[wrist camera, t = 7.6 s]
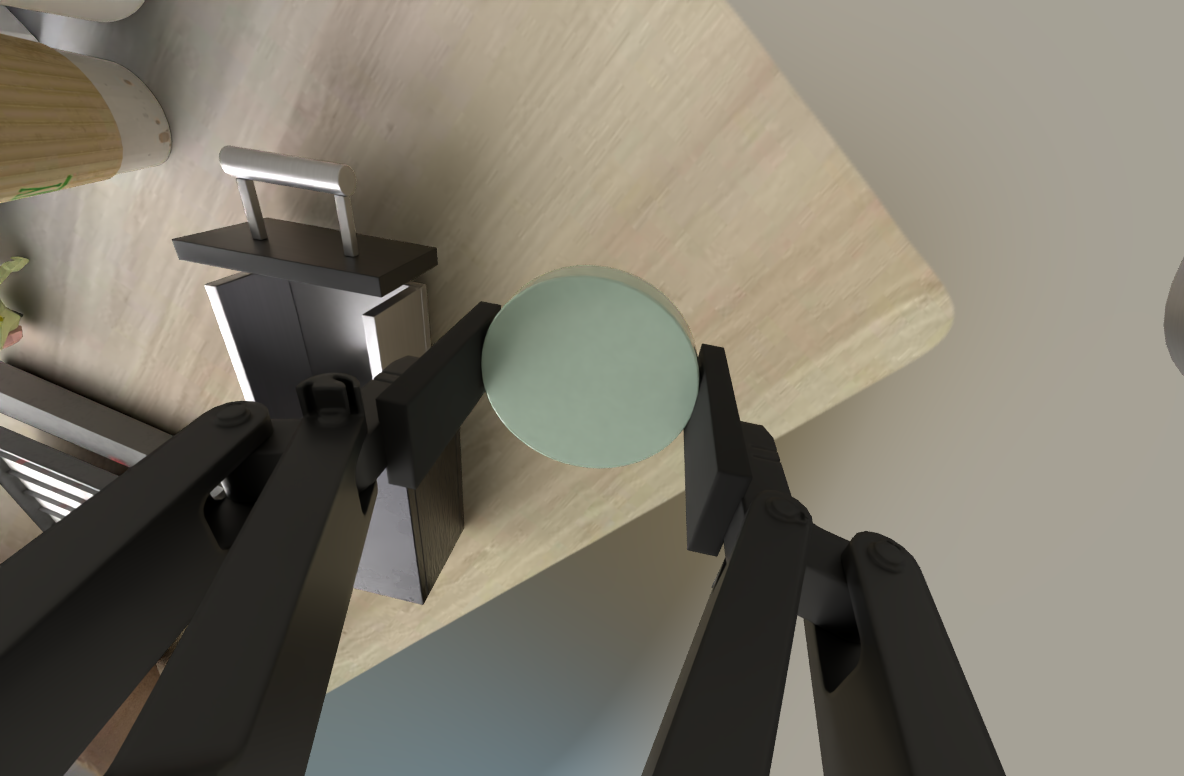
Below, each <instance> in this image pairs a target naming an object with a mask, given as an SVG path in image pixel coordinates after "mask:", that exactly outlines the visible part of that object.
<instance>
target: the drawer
mask: <svg viewBox="0 0 1184 776" xmlns="http://www.w3.org/2000/svg"><path fill="white" fill-rule="evenodd" d="M219 161H220V164H221V166H222V168H223V170H224V171H225V172H226V173H227V174H229V175H230V176H232V177H237V178H236V181H237V185H238V188H239V192H240V196H241V199H242V203H243V206H244V210H245V213H246V217H247V221H248V222H245V223H241V224H237V225H232V226H228V227H223V228H219V229H215V230H210V231H206V232H201V233H197V234H193V235H188V236H184V237H179V238H175V239H172V242H173V244H174V247H175V250H176V252H177V255H178V258H179V260H184V261H189V262H195V263H200V264H205V265H210V266H216V267H221V268H226V269H232V270H237V271H242V272H240V273H237V274H234V275H231V276H228V277H225V278H222V279H219V280H216V281H213V282H210V283H207V284H205V288H206V290H207V293H208V296H209V299H210V302H211V304H212V307H213V310H214V313H215V316H216V318H217V321H218V324H219V327H220V330H221V332H222V335H223V338H224V341H225V344H226V346H227V349H228V352H229V355H230V358H231V360H232V363H233V366H234V369H235V372H236V374H237V377H238V380H239V383H240V386H241V388H242V391H243V394H244V397H245V400H246V401H255V402H258V403H262V404H263V405H265V406H266V407H267V408H268V411H269V415H270V418H271V419H300V418H303V414H302V410H301V407H300V403H299V399H298V396H297V392H296V388H295V387H296V386H297V385H298V384H299V383H300V382H301V381H303V380H305V379H307V378H309V377H311V376H315V375H319V374H323V373H335V372H336V373H345V374H349V375H352V376H354V377H356V379H357V380H358V381H359V382H360V388H362V387H363V386H365V385H366V384H367V383H368V382H369V381H370V380H373V379H374V377H375V376H376V375H378V374H379V373H380V372H382V370H383V369H385V368H386V367H387V366H388V365H389V364H391V363H392V362H393V361H396V360H398V359H400V358H403V357H405V356H408V355H409V356H414V357H419V358H420V357H421V356H422V355H423V354H424V353H425V352H426V351H428V350H429V349H430V348H431V340H430V327H429V315H428V302H427V289H426V284H422V283H417V282H411V280H413V279H414V278H416V277H418V276H420V275H421V274H423V273H425V272H426V271H428V270H430V269H432V268H433V267H435V266H437V265H438V257H437V248H435V247H430V246H424V245H419V244H413V243H407V242H402V241H396V240H390V239H385V238H379V237H373V236H368V235H362V234H357V233H356V231H355V225H354V218H353V212H352V206H351V199H350V196H351V195H353V194H354V192H355V190H356V186H357V181H356V176H355V173H354V171H353V169H352V168H351V167H350V166H348V165H344V164H338V163H332V162H326V161H320V160H314V159H308V158H302V157H296V156H290V155H284V154H278V153H272V152H266V151H260V150H254V149H247V148H241V147H235V146H225V147H223V148H222V149H221V151H220V153H219ZM253 180H255V181H261V182H266V183H272V184H278V185H284V186H290V187H296V188H302V189H307V190H313V191H319V192H325V193H331V194H337V195H334V197H335V203H336V209H337V215H338V220H339V226H340V230H334V229H328V228H323V227H317V226H311V225H306V224H300V223H294V222H289V221H283V220H278V219H272V218H263V216H262V213H261V209H260V205H259V201H258V197H257V193H256V190H255V186H254V182H253Z"/></svg>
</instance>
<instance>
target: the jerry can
mask: <svg viewBox="0 0 1184 776" xmlns="http://www.w3.org/2000/svg"><path fill="white" fill-rule="evenodd" d="M0 33H1V34H5V35H9V36H14V37H18V38H22V39H27V40H31V41H35V42H38V41H37V39H36V38H35V37H34V36H33V35H32V34H31V33H30V32H29V31H28V30H27V29H26V28H25V27H24V26H23V25H22V23H21V22H20V21H19V20H18V19H17V18H16V17H15V16H14V15H13V14H12V13H11V12H10V11H9V10H8V9H7V8H6V7H5V6H4V5H0Z"/></svg>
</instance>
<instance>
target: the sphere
mask: <svg viewBox="0 0 1184 776" xmlns="http://www.w3.org/2000/svg"><path fill="white" fill-rule="evenodd" d="M159 677H160V674H159V671H158V669H157V666H156V664H155V665H154V666H153V667H152V669H151V670H150V671H149V672H148V674H147V675H146V676H145V677H144V678H143V680H142V681H141V682H140V683H139V684H138V686H137V687H136V688H135V689H134V691H133V692H132V693H131V694H130V695H129V697H128V698H127V699H126V700H125V701H124V703H123V704H122V705H121V706H120V708H119V709H118V710H117V711H116V712H115V714H114V715H113V716H112V717H111V719H110V720H109V721H108V722H107V723H106V725H105V726H104V727H103V728H102V729H101V731H100V732H99V733H98V734H97V736H96V737H95V738H94V739H93V740H92V742H91V743H90V744H89V745H88V746H87V748H86V749H85V750H84V751H83V753H82V754H81V755H80V756H79V757H78V759H77V760H76V761H75V762H74V764H73V765H72V766H71V767H70V768H69V770H68V771H67V772H66V773H65V774H64V776H103V775H104V774H105V773H106V771H107V770H108V768H109V767H110V765H111V763H112V762H113V760H114V759H115V757H116V755H117V753H118V751H119V750H120V748H121V746H122V744H123V742H124V741H125V739H126V737H127V735H128V733H129V732H130V730H131V728H132V726H133V724H134V722H135V721H136V719H137V717H138V715H139V713H140V712H141V710H142V708H143V706H144V704H145V702H146V701H147V699H148V697H149V695H150V693H151V692H152V690H153V688H154V686H155V684H156V683H157V681H158V679H159Z"/></svg>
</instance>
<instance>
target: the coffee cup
mask: <svg viewBox="0 0 1184 776" xmlns="http://www.w3.org/2000/svg"><path fill="white" fill-rule="evenodd" d="M170 151H171V133H170V129H169V125H168V122H167V119H166V117H165V114H164V112H163V110H162V108H161V106H160V105H159V103H158V101H157V100H156V98H155V97H154V95H153V94H152V93H151V91H150V90H149V89H148V88H147V87H146V85H145V84H144V83H143V82H142V81H141V80H140V79H139V78H138V77H137V76H135V75H134V74H133V73H132V72H130V71H129V70H127V69H126V68H125V67H123V66H121V65H119V64H117V63H115V62H112V61H108V60H103V59H99V58H95V57H90V56H86V55H81V54H77V53H72V52H68V51H64V50H59V49H55V48H50V47H48V46H46V45H44V44H42V43H39V42H35V41H31V40H27V39H22V38H18V37H14V36H9V35H5V34H1V33H0V203H4V202H9V201H13V200H17V199H22V198H26V197H31V196H35V195H40V194H44V193H49V192H53V191H58V190H62V189H67V188H71V187H76V186H80V185H85V184H89V183H94V182H98V181H102V180H106V179H110V178H111V177H113V176H114V175H117V174H122V173H126V172H131V171H136V170H140V169H145V168H150V167H154V166H158V165H161V164H162V163H164V162H165V161H166V159H167V158H168V157H169V154H170Z"/></svg>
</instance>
